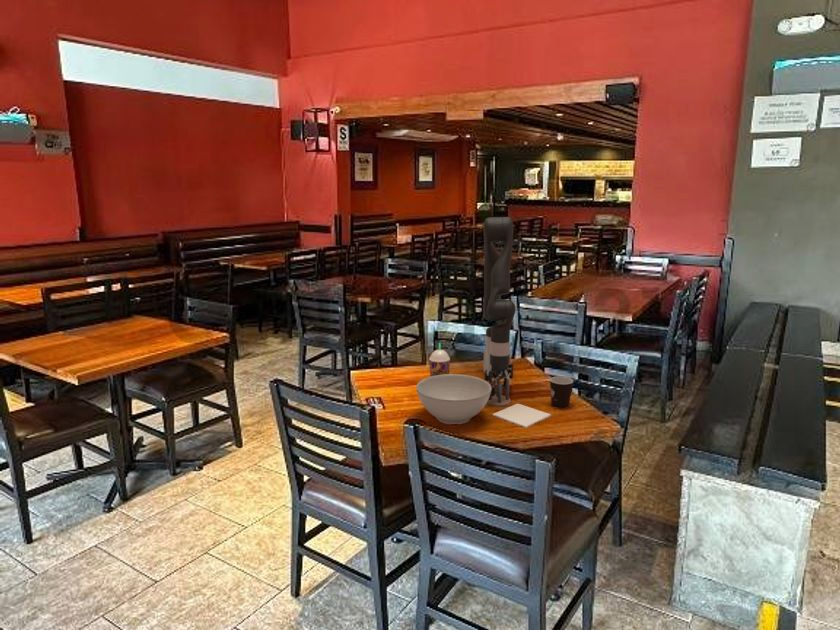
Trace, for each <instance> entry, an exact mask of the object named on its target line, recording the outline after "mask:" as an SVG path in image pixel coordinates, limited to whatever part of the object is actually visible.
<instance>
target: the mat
mask: <svg viewBox="0 0 840 630" xmlns="http://www.w3.org/2000/svg"><path fill="white" fill-rule="evenodd" d="M492 415H493V416H492ZM491 416H492V417H494V416H495V418H496V419H500V420H503V421H505V420H506V422H507V423H511V424H513V423H514V425H517V426H519V427H521V426H522V428H525V429H527V428H530V427H532V426H534V425H535V423H536V424H538V423H539V421H540V422H542V421H544V420H547V419H548V418H550V417H552V414H551V413H547V412H545V411H541V410H539V409H536V408H532V407H530V406H526V405H524V404H520V403H515V404H513V405H511V406H507V407H506V408H504V409H502V410H499V411H497V412H494V413H493V414H491ZM537 422H538V423H537Z"/></svg>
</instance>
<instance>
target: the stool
mask: <svg viewBox="0 0 840 630" xmlns="http://www.w3.org/2000/svg"><path fill="white" fill-rule="evenodd" d="M510 391H511V389H510V382H509V379H506V387H505V386H503V381H501V379H499V380H498V382H496V384H495V395H494V396H493V397H492V396H490V397H489V399H488V401H487V403H486V405H488V406H490V407H493V406H494V408H505V407H506V408H507V407H510V405H511V398H510ZM503 392H505V395H502V394H503Z"/></svg>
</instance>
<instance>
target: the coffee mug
mask: <svg viewBox="0 0 840 630" xmlns="http://www.w3.org/2000/svg"><path fill="white" fill-rule="evenodd" d="M573 385H574V380H573V378H570V377H568V376H553V377H550V378H549V387H550V388H549V389H550V390H549V391H550V400H551V401H550V402H551V407H553V408H555V407H556V409H568V408H569V407H570V401H571V395H572V391H573Z"/></svg>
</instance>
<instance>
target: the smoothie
mask: <svg viewBox="0 0 840 630" xmlns="http://www.w3.org/2000/svg"><path fill="white" fill-rule="evenodd" d="M428 359H429V372H430V373H429V374H430V375H429V377H431V376H436V375H444V374H450V365H451V362H450V361H451V357H450V356H449V354H448V353H447V352H446V350H444V349H441V342H439V343H438V349H436V350H433V351H432V353H431V354H430V356H429V358H428Z"/></svg>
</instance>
